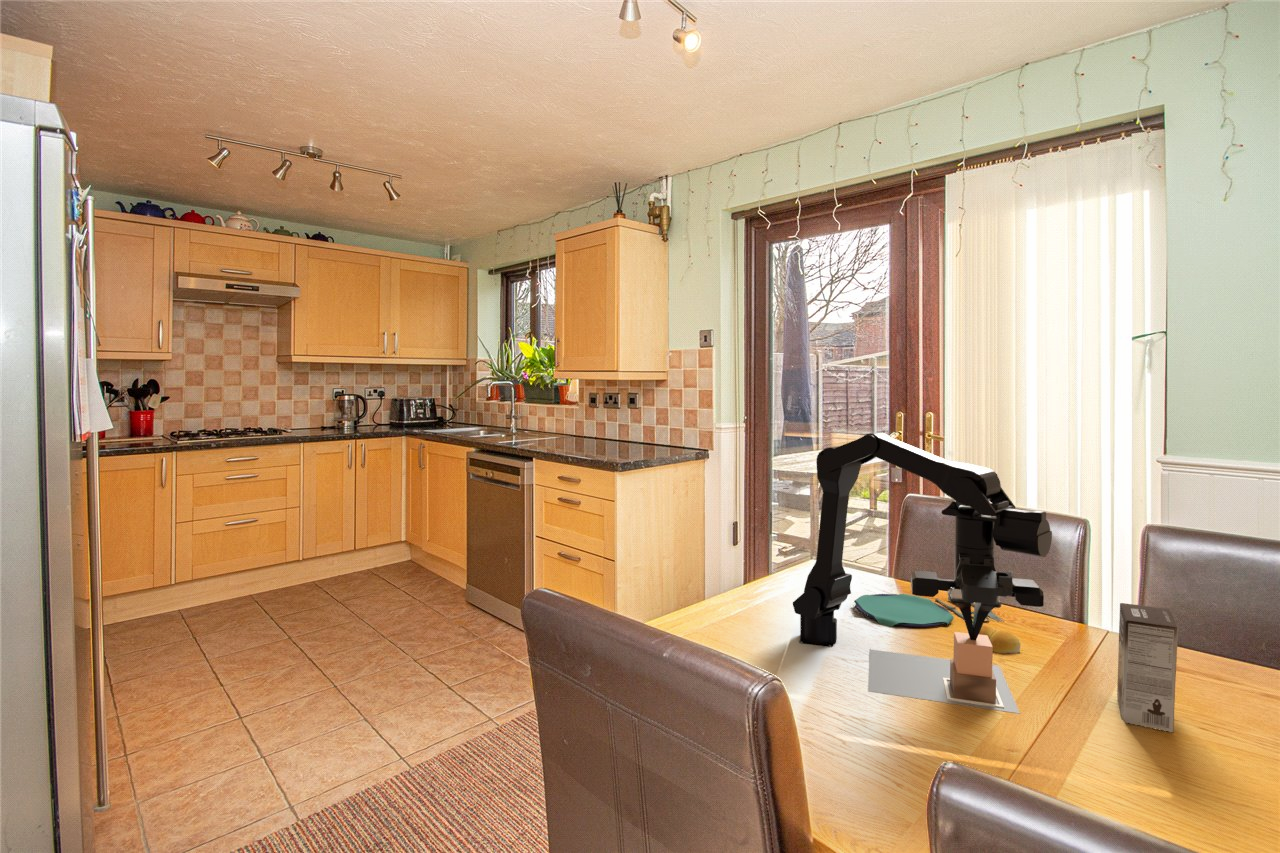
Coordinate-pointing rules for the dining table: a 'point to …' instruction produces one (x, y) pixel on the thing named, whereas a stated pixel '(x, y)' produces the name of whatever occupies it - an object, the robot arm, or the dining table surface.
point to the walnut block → (972, 686)
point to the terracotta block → (973, 655)
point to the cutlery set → (908, 610)
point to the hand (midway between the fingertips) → (972, 639)
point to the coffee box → (1147, 666)
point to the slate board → (927, 680)
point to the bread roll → (1001, 640)
